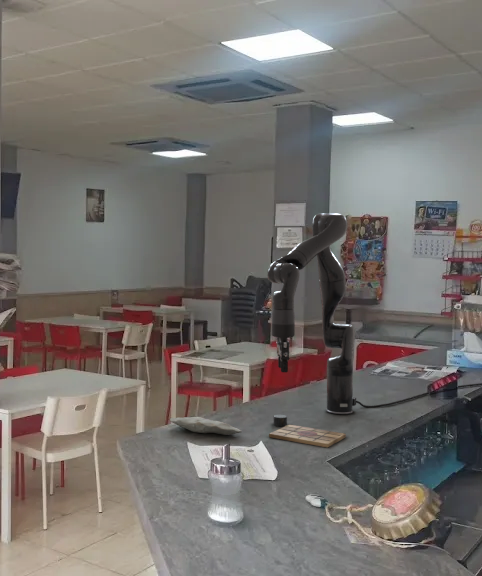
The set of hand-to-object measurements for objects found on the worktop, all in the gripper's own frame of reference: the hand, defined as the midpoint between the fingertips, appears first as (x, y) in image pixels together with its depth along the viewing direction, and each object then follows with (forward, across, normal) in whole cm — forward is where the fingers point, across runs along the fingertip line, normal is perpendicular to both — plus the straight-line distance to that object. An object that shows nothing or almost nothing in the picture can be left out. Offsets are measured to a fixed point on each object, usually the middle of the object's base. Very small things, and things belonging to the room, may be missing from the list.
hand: (282, 369), depth 242 cm
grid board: (+21, -8, -7) cm, 23 cm away
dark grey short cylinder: (+21, +7, 0) cm, 22 cm away
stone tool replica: (+21, -5, +26) cm, 33 cm away
